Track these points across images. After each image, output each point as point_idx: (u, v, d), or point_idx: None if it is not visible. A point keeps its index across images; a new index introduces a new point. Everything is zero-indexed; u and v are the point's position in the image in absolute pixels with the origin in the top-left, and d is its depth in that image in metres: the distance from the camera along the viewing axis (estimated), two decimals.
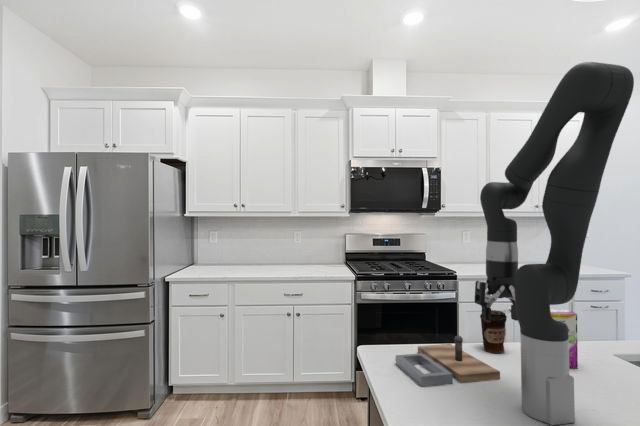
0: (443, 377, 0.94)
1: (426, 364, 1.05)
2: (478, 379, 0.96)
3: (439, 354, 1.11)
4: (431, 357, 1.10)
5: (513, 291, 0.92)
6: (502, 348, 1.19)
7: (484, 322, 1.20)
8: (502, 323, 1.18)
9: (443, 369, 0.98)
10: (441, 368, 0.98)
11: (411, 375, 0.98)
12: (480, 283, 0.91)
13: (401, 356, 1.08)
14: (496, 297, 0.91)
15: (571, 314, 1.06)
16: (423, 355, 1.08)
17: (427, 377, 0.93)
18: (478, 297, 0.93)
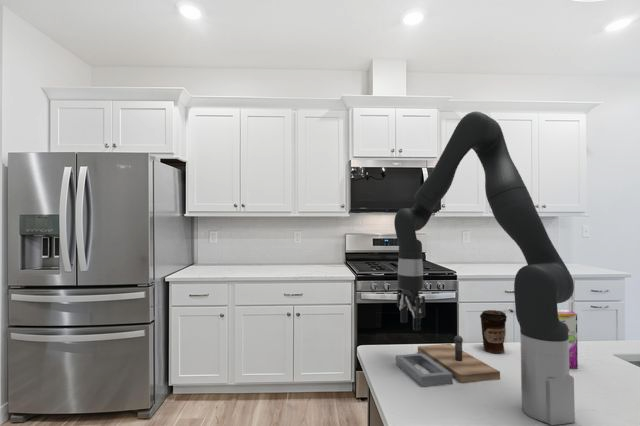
0: (443, 377, 0.94)
1: (426, 364, 1.05)
2: (478, 379, 0.96)
3: (439, 354, 1.11)
4: (431, 357, 1.10)
5: None
6: (502, 348, 1.19)
7: (484, 322, 1.20)
8: (502, 323, 1.18)
9: (443, 369, 0.98)
10: (441, 368, 0.98)
11: (411, 375, 0.98)
12: (422, 297, 1.03)
13: (401, 356, 1.08)
14: None
15: (571, 314, 1.06)
16: (423, 355, 1.08)
17: (427, 377, 0.93)
18: None
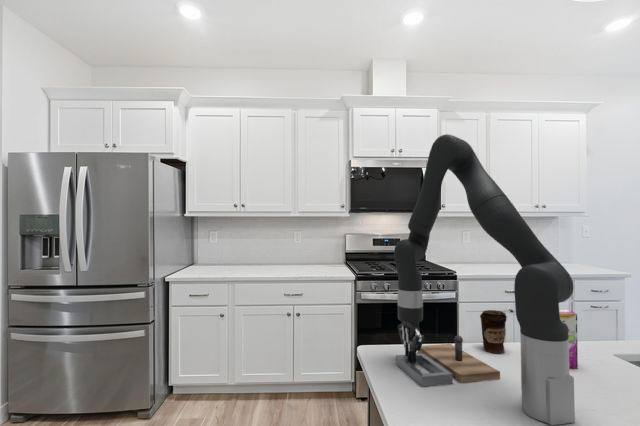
0: (443, 377, 0.94)
1: (426, 364, 1.05)
2: (478, 379, 0.96)
3: (439, 354, 1.11)
4: (431, 357, 1.10)
5: None
6: (502, 348, 1.19)
7: (484, 322, 1.20)
8: (502, 323, 1.18)
9: (443, 369, 0.98)
10: (441, 368, 0.98)
11: (411, 375, 0.98)
12: (422, 338, 1.03)
13: (401, 356, 1.08)
14: None
15: (571, 314, 1.06)
16: (423, 355, 1.08)
17: (427, 377, 0.93)
18: None
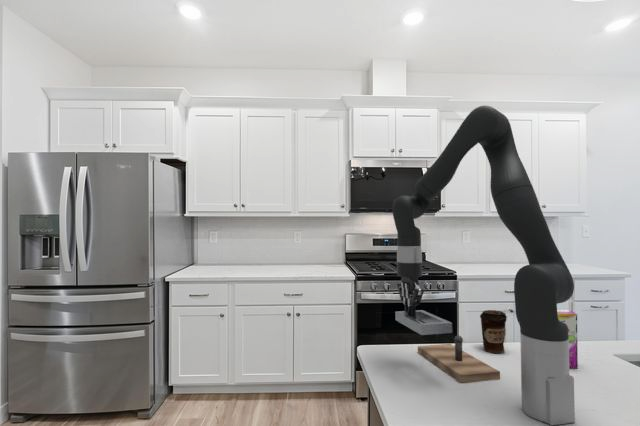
0: (443, 326, 0.95)
1: (426, 319, 1.05)
2: (478, 379, 0.96)
3: (439, 354, 1.11)
4: (431, 357, 1.10)
5: None
6: (502, 348, 1.19)
7: (484, 322, 1.20)
8: (502, 323, 1.18)
9: (443, 320, 0.98)
10: (440, 319, 0.99)
11: (411, 326, 0.99)
12: (421, 291, 1.03)
13: (401, 312, 1.08)
14: None
15: (571, 314, 1.06)
16: (423, 311, 1.09)
17: (427, 325, 0.94)
18: None
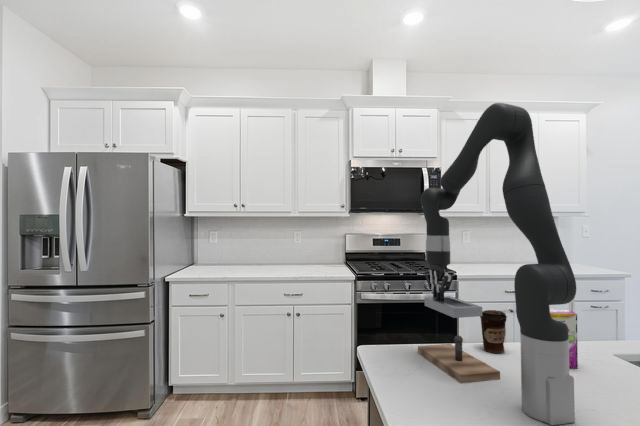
0: (474, 309, 1.01)
1: (454, 304, 1.12)
2: (478, 379, 0.96)
3: (439, 354, 1.11)
4: (431, 357, 1.10)
5: None
6: (502, 348, 1.19)
7: (484, 322, 1.20)
8: (502, 323, 1.18)
9: (472, 304, 1.05)
10: (470, 304, 1.05)
11: (442, 310, 1.05)
12: (451, 277, 1.10)
13: (430, 298, 1.14)
14: None
15: (571, 314, 1.06)
16: (450, 297, 1.15)
17: (459, 309, 1.00)
18: None
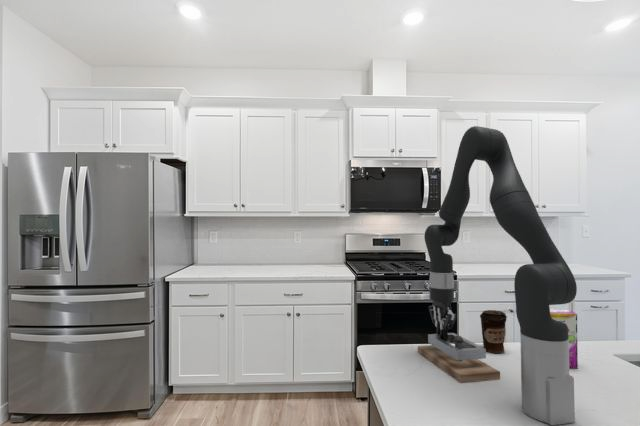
0: (477, 352, 1.01)
1: None
2: (478, 379, 0.96)
3: (439, 354, 1.11)
4: (431, 357, 1.10)
5: None
6: (502, 348, 1.19)
7: (484, 322, 1.20)
8: (502, 323, 1.18)
9: (476, 345, 1.04)
10: (474, 344, 1.05)
11: (446, 351, 1.05)
12: (454, 316, 1.10)
13: (433, 335, 1.14)
14: None
15: (571, 314, 1.06)
16: (454, 334, 1.15)
17: (463, 351, 1.00)
18: None
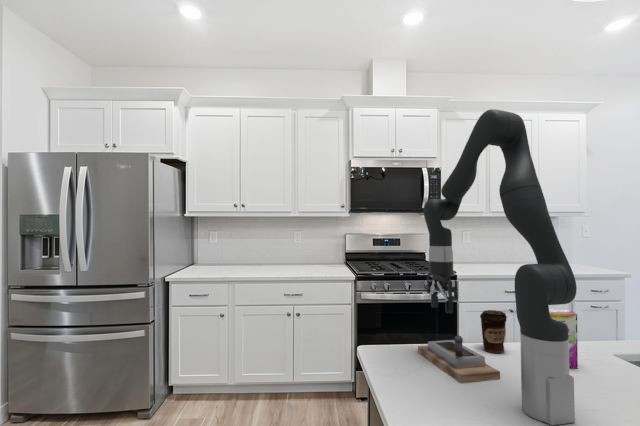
0: (476, 360, 1.01)
1: None
2: (478, 379, 0.96)
3: None
4: (431, 357, 1.10)
5: None
6: (502, 348, 1.19)
7: (484, 322, 1.20)
8: (502, 323, 1.18)
9: (475, 353, 1.05)
10: (473, 352, 1.05)
11: (445, 359, 1.05)
12: (455, 281, 1.10)
13: (433, 342, 1.14)
14: None
15: (571, 314, 1.06)
16: (454, 341, 1.15)
17: (462, 360, 1.00)
18: None
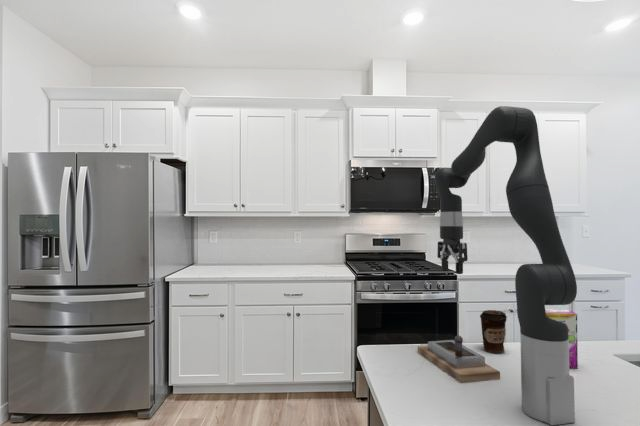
0: (476, 360, 1.01)
1: None
2: (478, 379, 0.96)
3: None
4: (431, 357, 1.10)
5: None
6: (502, 348, 1.19)
7: (484, 322, 1.20)
8: (502, 323, 1.18)
9: (475, 353, 1.05)
10: (473, 352, 1.05)
11: (445, 359, 1.05)
12: (465, 244, 1.17)
13: (433, 342, 1.14)
14: None
15: (571, 314, 1.06)
16: (454, 341, 1.15)
17: (462, 360, 1.00)
18: None
